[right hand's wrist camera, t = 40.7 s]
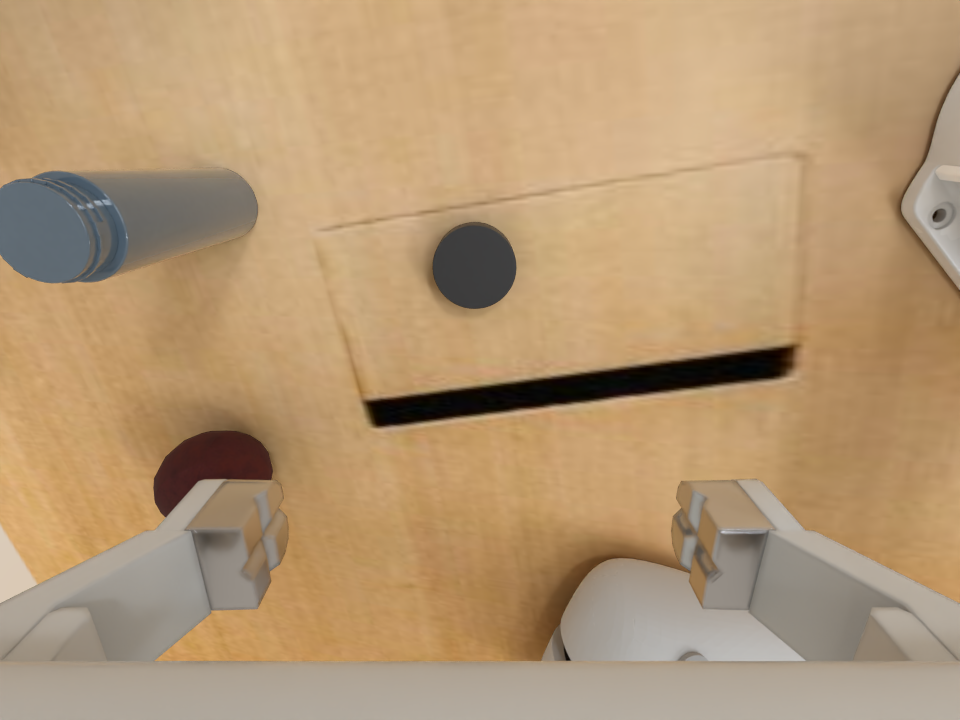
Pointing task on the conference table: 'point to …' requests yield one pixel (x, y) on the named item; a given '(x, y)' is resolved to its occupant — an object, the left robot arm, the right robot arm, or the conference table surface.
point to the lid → (474, 265)
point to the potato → (209, 464)
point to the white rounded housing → (655, 621)
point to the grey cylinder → (118, 219)
